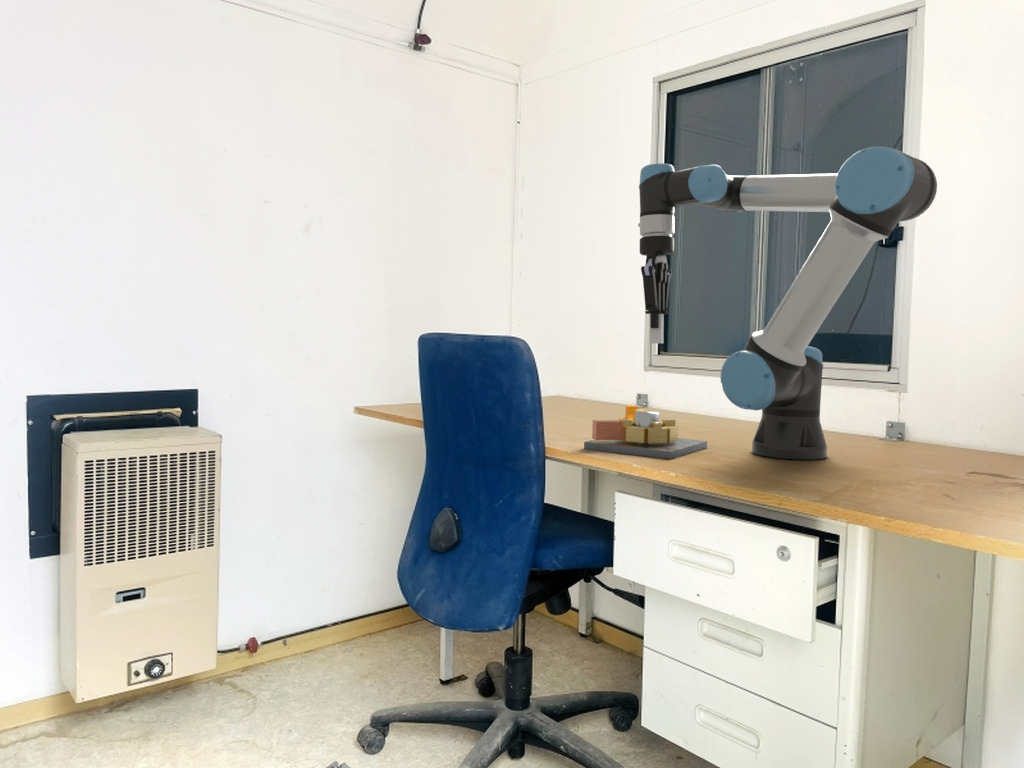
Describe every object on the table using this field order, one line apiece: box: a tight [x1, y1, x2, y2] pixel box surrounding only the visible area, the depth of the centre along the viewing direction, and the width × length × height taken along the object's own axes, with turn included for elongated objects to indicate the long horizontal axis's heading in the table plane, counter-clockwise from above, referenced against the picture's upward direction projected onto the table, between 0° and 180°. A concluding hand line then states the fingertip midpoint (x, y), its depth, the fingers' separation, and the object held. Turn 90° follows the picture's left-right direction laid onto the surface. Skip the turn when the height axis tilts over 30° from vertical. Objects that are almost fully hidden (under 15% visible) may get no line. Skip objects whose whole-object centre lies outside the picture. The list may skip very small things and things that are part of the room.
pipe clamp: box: [618, 405, 647, 422], centre depth 201 cm, size 12×4×6 cm, turn 3°
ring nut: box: [591, 416, 679, 443], centre depth 175 cm, size 18×12×4 cm
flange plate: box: [583, 410, 708, 460], centre depth 176 cm, size 20×20×8 cm
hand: (656, 343), depth 179 cm, fingers closed
